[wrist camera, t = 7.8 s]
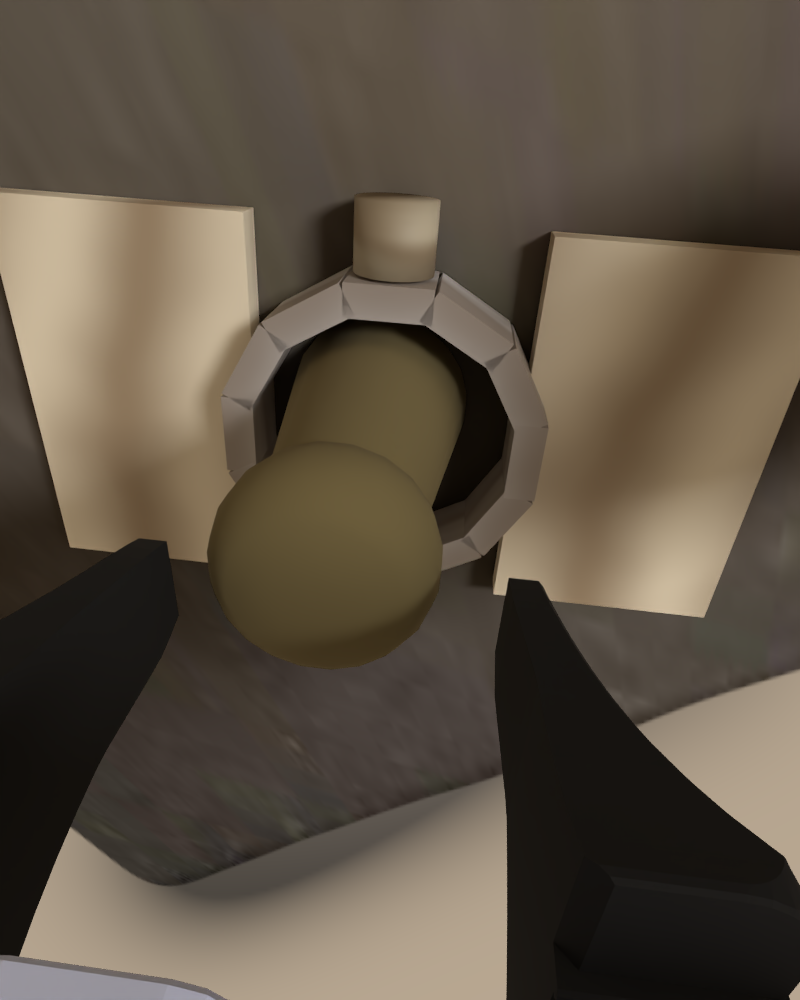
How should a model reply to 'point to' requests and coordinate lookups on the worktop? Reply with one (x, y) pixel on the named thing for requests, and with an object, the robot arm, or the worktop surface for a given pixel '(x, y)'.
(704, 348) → the hinge base
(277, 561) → the cork
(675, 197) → the worktop surface
